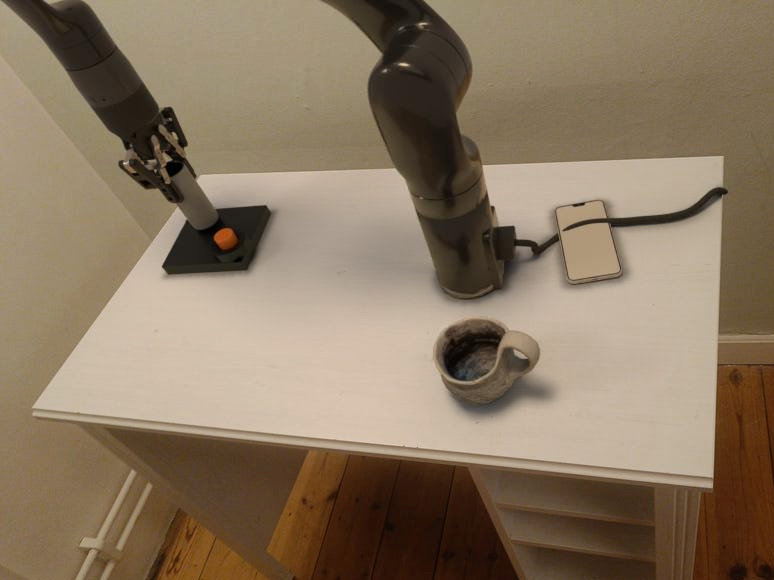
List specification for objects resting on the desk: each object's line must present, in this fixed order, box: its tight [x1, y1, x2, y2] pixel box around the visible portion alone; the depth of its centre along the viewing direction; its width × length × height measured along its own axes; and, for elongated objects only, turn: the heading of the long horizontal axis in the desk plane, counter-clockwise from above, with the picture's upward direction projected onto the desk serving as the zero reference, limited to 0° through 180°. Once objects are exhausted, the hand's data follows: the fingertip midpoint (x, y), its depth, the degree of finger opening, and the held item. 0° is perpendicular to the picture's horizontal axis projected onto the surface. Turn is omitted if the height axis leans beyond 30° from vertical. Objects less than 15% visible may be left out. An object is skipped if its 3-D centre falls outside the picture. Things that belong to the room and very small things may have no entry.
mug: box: [432, 315, 541, 406], centre depth 71 cm, size 10×12×10 cm
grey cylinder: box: [155, 159, 219, 230], centre depth 96 cm, size 4×4×10 cm
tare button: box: [214, 228, 238, 250], centre depth 94 cm, size 3×3×2 cm
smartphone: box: [553, 199, 623, 285], centre depth 85 cm, size 7×1×15 cm
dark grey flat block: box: [161, 204, 272, 275], centre depth 99 cm, size 14×13×4 cm
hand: (184, 189), depth 95 cm, fingers closed on grey cylinder, 4 cm apart
